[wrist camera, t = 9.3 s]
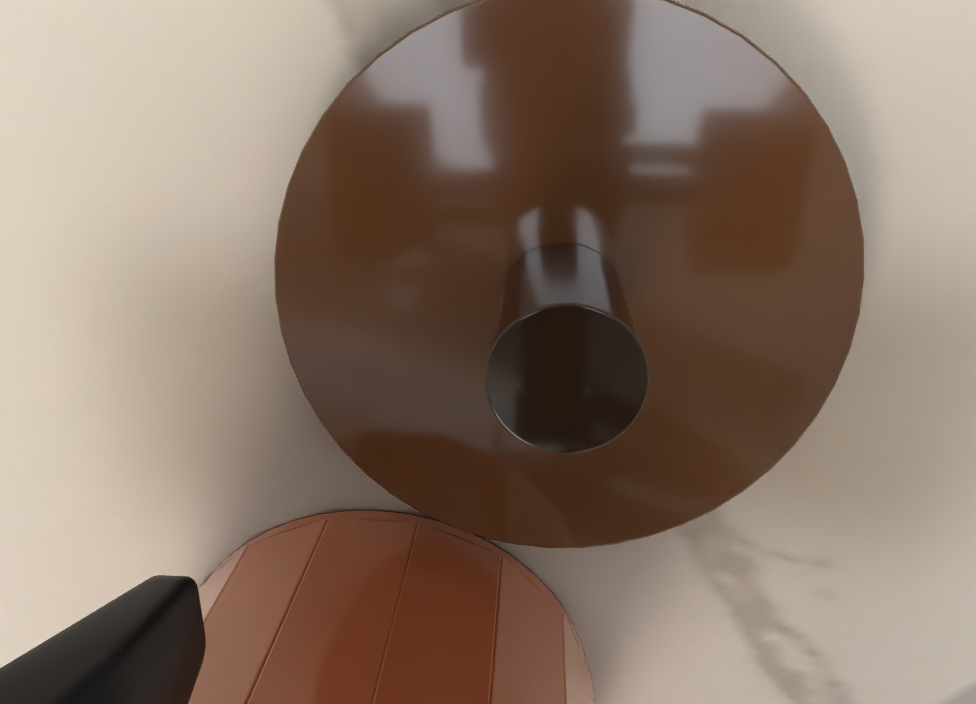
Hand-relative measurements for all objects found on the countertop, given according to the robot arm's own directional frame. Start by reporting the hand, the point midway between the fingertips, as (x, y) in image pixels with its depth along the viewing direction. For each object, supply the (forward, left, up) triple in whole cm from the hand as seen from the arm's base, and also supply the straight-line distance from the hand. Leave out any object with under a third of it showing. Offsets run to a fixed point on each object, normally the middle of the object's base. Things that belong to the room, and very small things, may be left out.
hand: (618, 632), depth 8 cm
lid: (+1, 0, -9) cm, 9 cm away
